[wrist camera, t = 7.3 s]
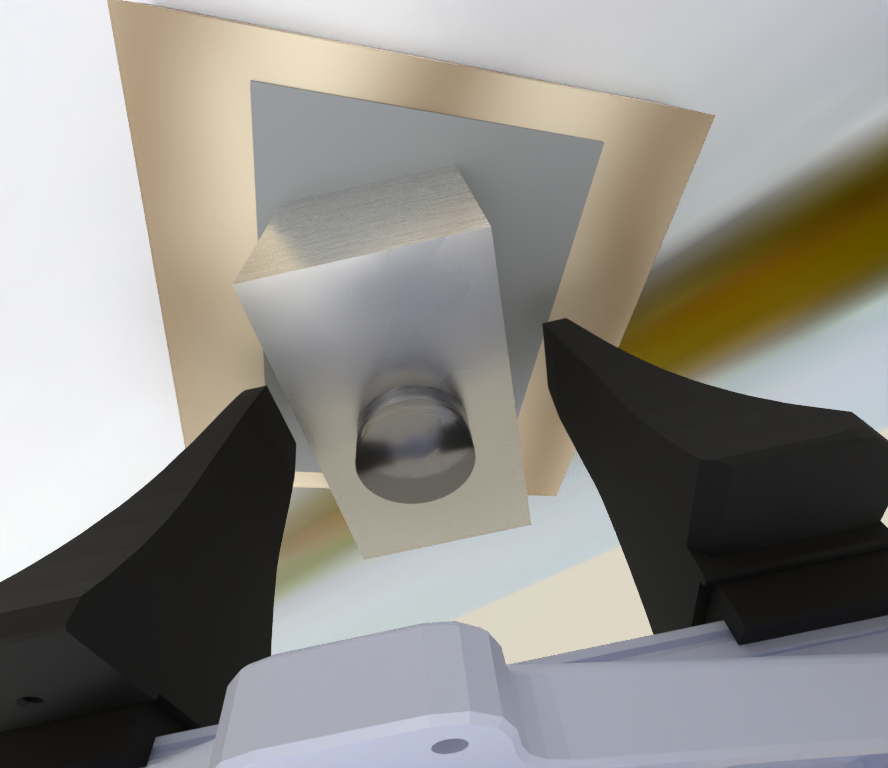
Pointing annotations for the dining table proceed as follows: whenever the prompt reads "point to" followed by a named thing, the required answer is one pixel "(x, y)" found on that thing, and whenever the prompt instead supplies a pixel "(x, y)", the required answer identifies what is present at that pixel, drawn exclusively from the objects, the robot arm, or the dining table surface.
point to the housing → (394, 356)
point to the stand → (376, 159)
